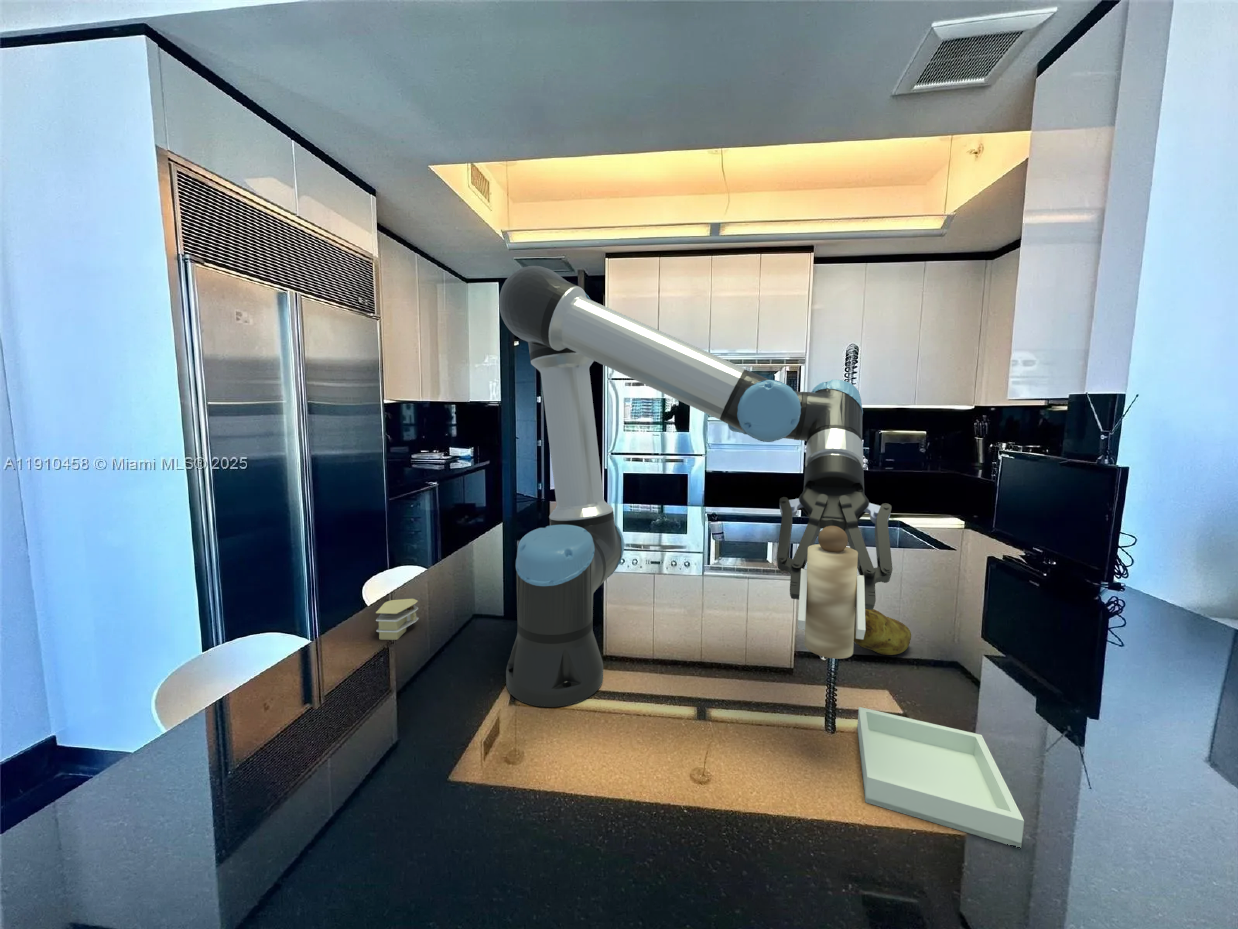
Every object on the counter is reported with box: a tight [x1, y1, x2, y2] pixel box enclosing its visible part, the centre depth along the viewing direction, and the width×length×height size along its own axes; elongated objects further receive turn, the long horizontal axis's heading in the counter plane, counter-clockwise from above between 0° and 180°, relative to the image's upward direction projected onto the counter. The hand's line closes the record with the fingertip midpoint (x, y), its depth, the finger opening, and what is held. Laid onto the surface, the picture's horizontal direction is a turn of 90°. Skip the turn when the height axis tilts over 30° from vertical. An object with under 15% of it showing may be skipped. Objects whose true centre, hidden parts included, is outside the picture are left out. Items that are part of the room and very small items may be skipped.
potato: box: [854, 608, 912, 656], centre depth 85 cm, size 8×13×8 cm, turn 88°
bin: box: [856, 706, 1025, 849], centre depth 55 cm, size 14×14×3 cm
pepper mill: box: [803, 526, 858, 660], centre depth 56 cm, size 5×5×15 cm
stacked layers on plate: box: [375, 598, 419, 641], centre depth 90 cm, size 10×9×6 cm
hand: (830, 629), depth 53 cm, fingers closed on pepper mill, 5 cm apart
